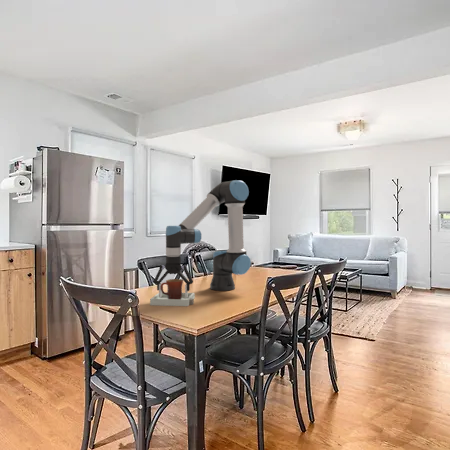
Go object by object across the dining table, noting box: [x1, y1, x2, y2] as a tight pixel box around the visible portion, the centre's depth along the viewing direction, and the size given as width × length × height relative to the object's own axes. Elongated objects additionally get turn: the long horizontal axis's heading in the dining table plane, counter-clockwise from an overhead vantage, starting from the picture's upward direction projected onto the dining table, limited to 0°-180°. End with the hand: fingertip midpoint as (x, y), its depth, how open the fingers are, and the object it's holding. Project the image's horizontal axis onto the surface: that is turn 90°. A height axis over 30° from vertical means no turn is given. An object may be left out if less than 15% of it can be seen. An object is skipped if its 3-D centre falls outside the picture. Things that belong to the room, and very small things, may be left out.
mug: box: [160, 278, 184, 299], centre depth 182 cm, size 12×9×10 cm
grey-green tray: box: [149, 291, 195, 307], centre depth 182 cm, size 21×17×3 cm
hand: (173, 297), depth 182 cm, fingers open, 13 cm apart
